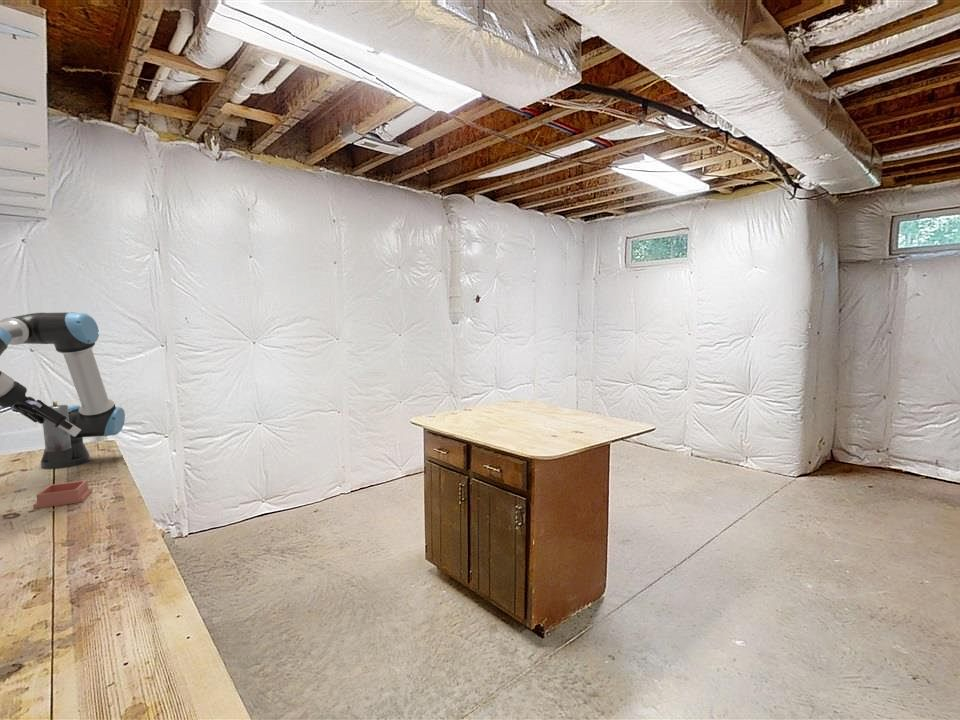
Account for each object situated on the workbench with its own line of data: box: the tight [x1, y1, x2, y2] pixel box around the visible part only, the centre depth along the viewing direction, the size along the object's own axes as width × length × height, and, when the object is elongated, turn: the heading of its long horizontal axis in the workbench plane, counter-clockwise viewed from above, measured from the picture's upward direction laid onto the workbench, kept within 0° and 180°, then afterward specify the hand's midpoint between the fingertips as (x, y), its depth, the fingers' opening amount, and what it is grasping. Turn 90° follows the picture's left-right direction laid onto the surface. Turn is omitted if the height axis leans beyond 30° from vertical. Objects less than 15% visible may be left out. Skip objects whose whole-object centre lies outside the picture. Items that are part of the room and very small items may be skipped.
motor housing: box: [43, 400, 71, 452], centre depth 150 cm, size 6×6×16 cm
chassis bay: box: [32, 479, 93, 510], centre depth 152 cm, size 10×12×4 cm
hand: (70, 432), depth 154 cm, fingers closed on motor housing, 6 cm apart
